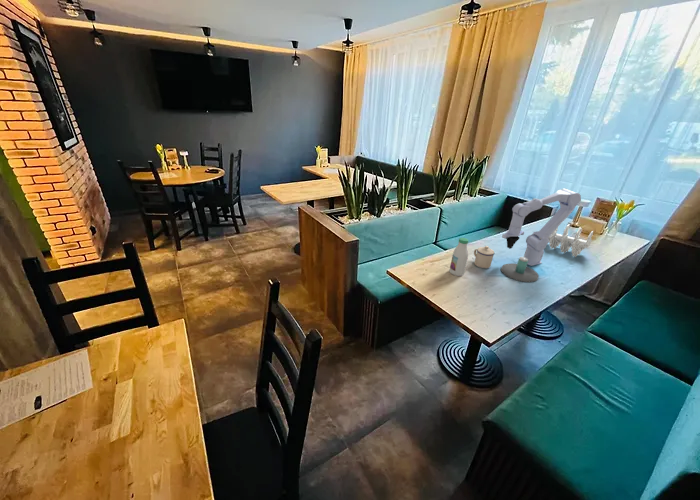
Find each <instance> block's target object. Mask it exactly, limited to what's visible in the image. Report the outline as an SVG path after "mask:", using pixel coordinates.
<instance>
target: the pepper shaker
mask: <svg viewBox="0 0 700 500" xmlns="http://www.w3.org/2000/svg"><path fill="white" fill-rule="evenodd" d="M527 263H528V259H527V258H525V257H524V256H520V257H519V258H518V260H517V263H516V264H517V266H516V269H515V271H516V272H517V273H520V274H523V273H524V272H525V269H526V267H528V264H527Z"/></svg>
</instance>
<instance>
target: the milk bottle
mask: <svg viewBox="0 0 700 500" xmlns="http://www.w3.org/2000/svg"><path fill="white" fill-rule="evenodd" d="M468 244H469V239H468V238H466V237H459V238H458V245H457V246H456V247H455V248H454V250H453V253H452V255H451V262H450V266H449V270H448V271H449V273H450V274H451V275H453V276H456V277H461V276H464V275H465V271H466V268H467V262H468V258H469V249H468Z"/></svg>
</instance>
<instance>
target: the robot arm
mask: <svg viewBox="0 0 700 500" xmlns="http://www.w3.org/2000/svg"><path fill="white" fill-rule="evenodd" d="M581 198H582V196H581V193H579V192H575V191H572V190H570V189H567V188H562V189H558V190H556V192H554V193H552V194H549V195H547V196H544V197H543V198H541V199H540V198H535V197H534V198H532V199H531V200H528V201H526V202H525V201H524V202H523V203H520V202H519V203H517V204H515V205H513V207H512V209H511V211H512V216H511V221H510V223H509V224H510V225H509V227H508V230H506V232H505V233H502V234H501V235H502V236H501V237H502V239H505V240H506V247H507V248H508V249H512V248H513V247H514V245H515V244H516V243H517V242H518V240H520V236H524V234H525V231H523V230H522V227H523V224H524V220H525V218H526V217H527V216H528V215H529V214H530V213H532V212H535V211H537V210H540V209H542V207H543V206H545V205H548V204H552V203H556V202H558V203H559V207H560V208H559V209H558V210H557V211H556V212H555V213H554V214H553V216H551V218H550V219H549V220H548V221H547V222H545V224H544V225H542V227H541V228H540V229H539V230H538V231H533V232H532V234H529V235H528V236H527V237H526V239H525V243H526V248H525V251H524V254H523V257H525V258H527V259H528V263H527V266H528V265H529V266H532V267H533V266H535V265H540V264H543V262H542V259H543V256H544V252H545V251H544V249H546V248H547V245H548V244H550V243H549V238H548V237H549V236H550V235H551V234H552V233H553V231H554V230H555V229H556V228H557V227H558V228H559V227H560V226H561V224H562V223H563V222H564V221H565V220H566V219H567V218H568V217H569V216H570V214H572V213H573V211H574V210H575V209H576V206H578V205H579V203H581V201H582V199H581ZM540 238H541V239H540Z"/></svg>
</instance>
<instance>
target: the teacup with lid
mask: <svg viewBox="0 0 700 500" xmlns="http://www.w3.org/2000/svg"><path fill="white" fill-rule="evenodd" d="M473 255H474V257H475V259H474V265H475V266H477V267H478V268H480V269H488V268H491V267H492V266H491V265H492V262H493V259H494V255H495V251H494V249H492V248H490V247H489V246H488V245H485V246H480V247H478V248H476V249H474V250H473Z"/></svg>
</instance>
